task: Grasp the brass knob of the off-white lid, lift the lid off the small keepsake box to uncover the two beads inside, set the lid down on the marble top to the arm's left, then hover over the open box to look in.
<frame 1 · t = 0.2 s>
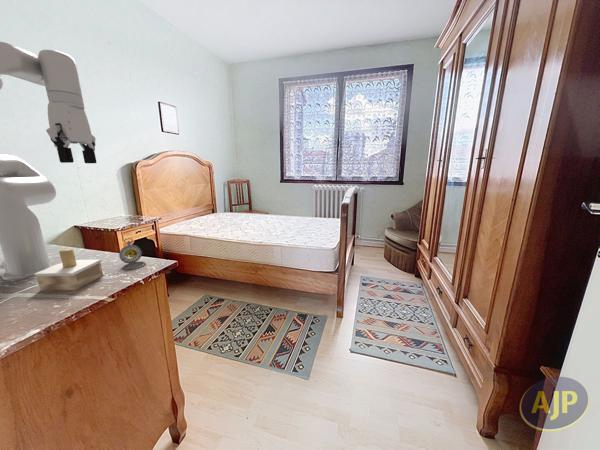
hand: (79, 162, 75), 36 cm above the dresser top, tool pointing down, fingers open, 9 cm apart
pocket watch: (134, 267, 87), on the dresser top
keepsake box: (74, 283, 75), on the dresser top
lid: (70, 268, 73), point 5 cm above the dresser top, touching keepsake box
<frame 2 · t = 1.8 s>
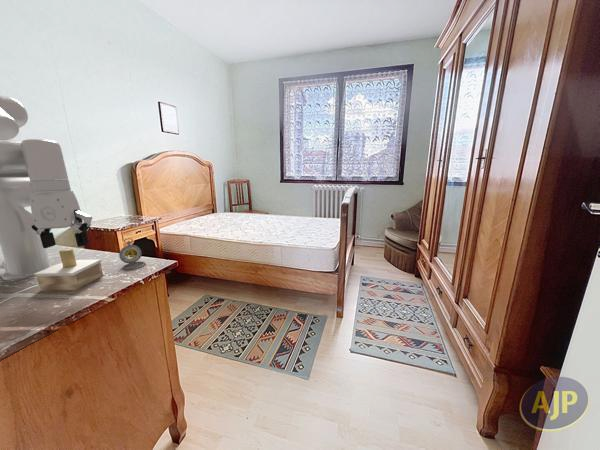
hand: (66, 246, 72), 12 cm above the dresser top, tool pointing down, fingers open, 9 cm apart
nothing on the dresser top moved.
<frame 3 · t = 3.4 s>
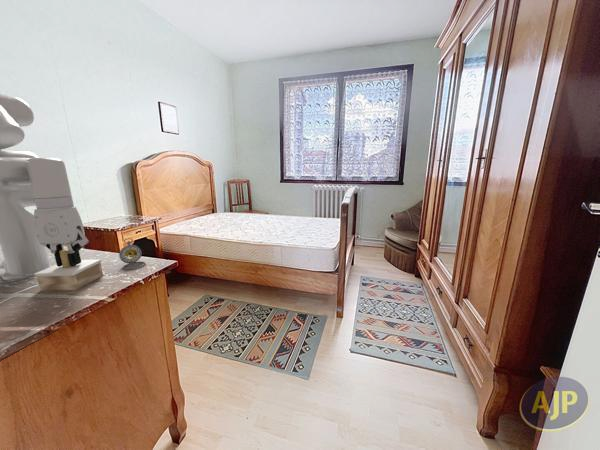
hand: (69, 264, 73), 6 cm above the dresser top, tool pointing down, fingers closed on lid, 3 cm apart
lid: (70, 268, 73), point 5 cm above the dresser top, touching gripper, keepsake box
everything else where it was.
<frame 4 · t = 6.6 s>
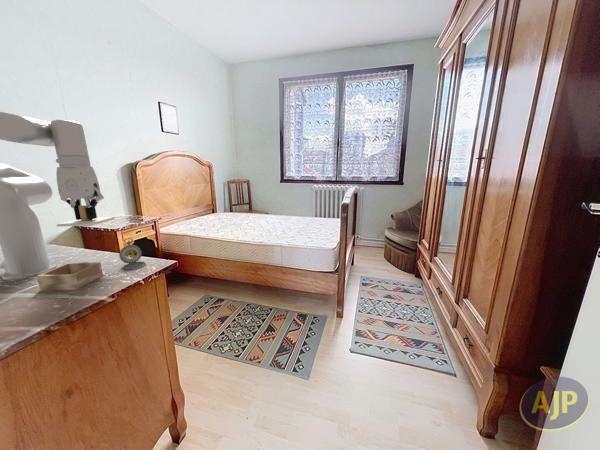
hand: (86, 218, 82), 18 cm above the dresser top, tool pointing down, fingers closed on lid, 3 cm apart
lid: (87, 222, 83), point 16 cm above the dresser top, touching gripper
everything else where it was.
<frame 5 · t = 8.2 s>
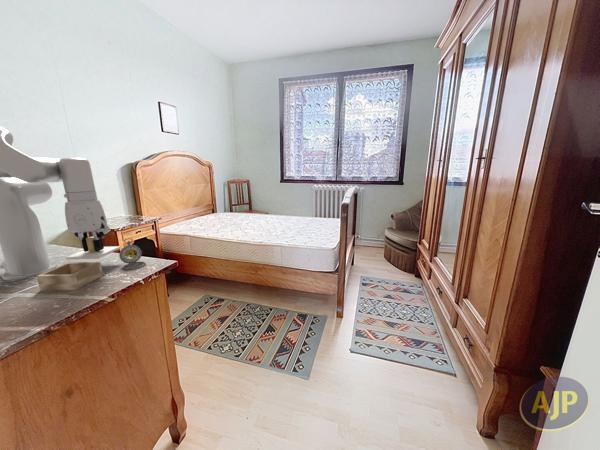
hand: (94, 249, 85), 7 cm above the dresser top, tool pointing down, fingers closed on lid, 3 cm apart
lid: (95, 253, 85), point 5 cm above the dresser top, touching gripper
everything else where it was.
when the fingers open (3 cm above the dresser top, at t = 9.7 s): lid drops 2 cm, on the dresser top.
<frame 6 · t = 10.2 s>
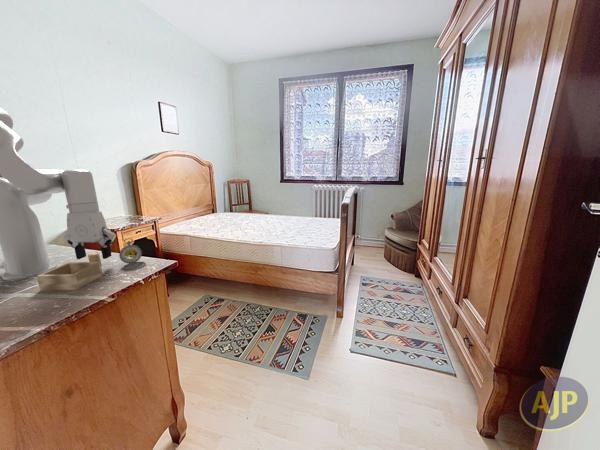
hand: (94, 257, 85), 4 cm above the dresser top, tool pointing down, fingers open, 8 cm apart
lid: (96, 269, 86), on the dresser top
everything else where it was.
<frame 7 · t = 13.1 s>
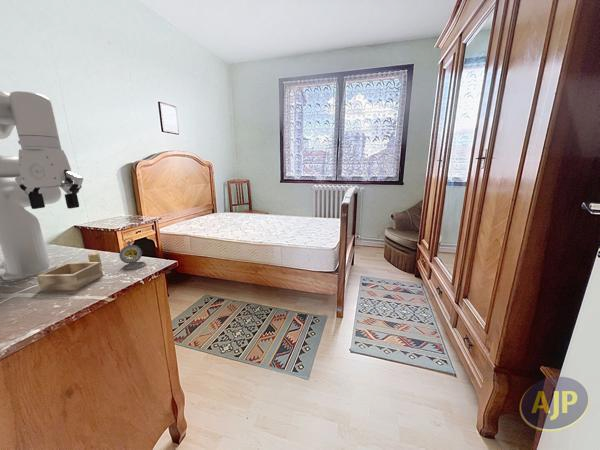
hand: (56, 208, 69), 23 cm above the dresser top, tool pointing down, fingers open, 9 cm apart
nothing on the dresser top moved.
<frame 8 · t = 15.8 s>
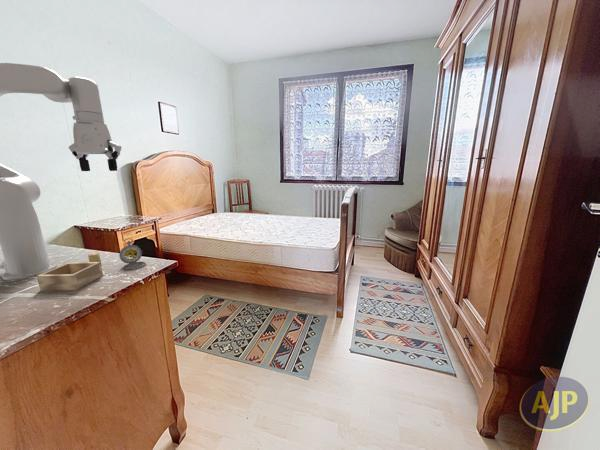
hand: (99, 170, 87), 33 cm above the dresser top, tool pointing down, fingers open, 9 cm apart
nothing on the dresser top moved.
at the end: lid on the dresser top; lid 12.3 cm from the keepsake box (horizontally); lid touching dresser top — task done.
